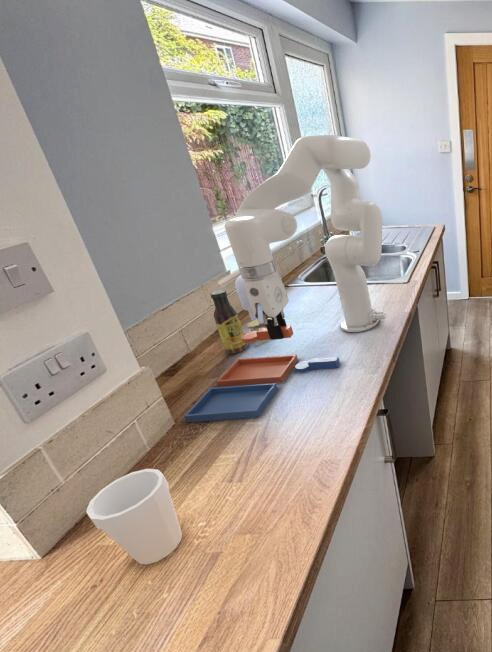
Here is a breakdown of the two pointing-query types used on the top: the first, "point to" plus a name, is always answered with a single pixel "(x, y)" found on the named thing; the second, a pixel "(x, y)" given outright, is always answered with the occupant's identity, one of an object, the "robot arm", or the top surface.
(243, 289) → the soap bottle
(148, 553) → the foam cup
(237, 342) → the sauce bottle
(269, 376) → the terracotta tray
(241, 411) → the blue tray
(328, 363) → the blue spoon
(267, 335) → the terracotta spoon
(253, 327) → the stacked layers on plate
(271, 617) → the top surface
